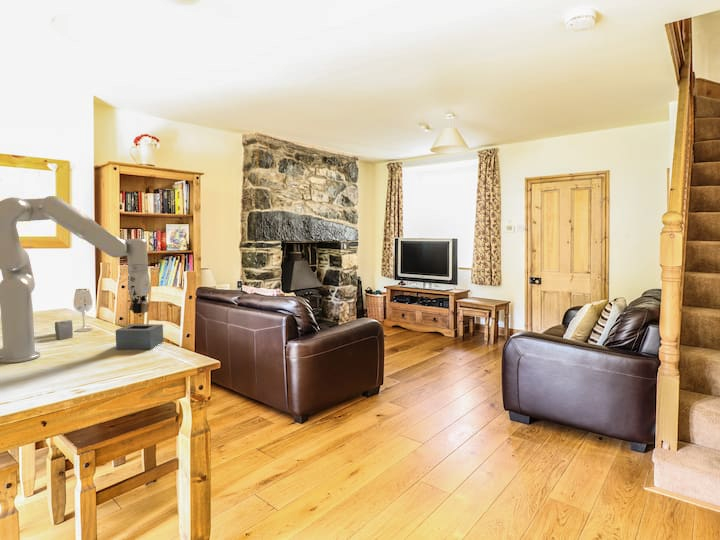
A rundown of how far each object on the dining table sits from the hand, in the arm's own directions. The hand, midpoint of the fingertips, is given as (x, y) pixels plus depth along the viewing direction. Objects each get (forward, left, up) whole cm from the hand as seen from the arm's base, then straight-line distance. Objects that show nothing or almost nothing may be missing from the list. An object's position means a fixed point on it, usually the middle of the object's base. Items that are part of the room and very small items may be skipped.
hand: (140, 311), depth 189 cm
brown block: (0, 0, +1) cm, 1 cm away
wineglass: (-21, +47, -15) cm, 54 cm away
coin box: (0, 0, -15) cm, 15 cm away
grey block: (-29, +33, -15) cm, 47 cm away
